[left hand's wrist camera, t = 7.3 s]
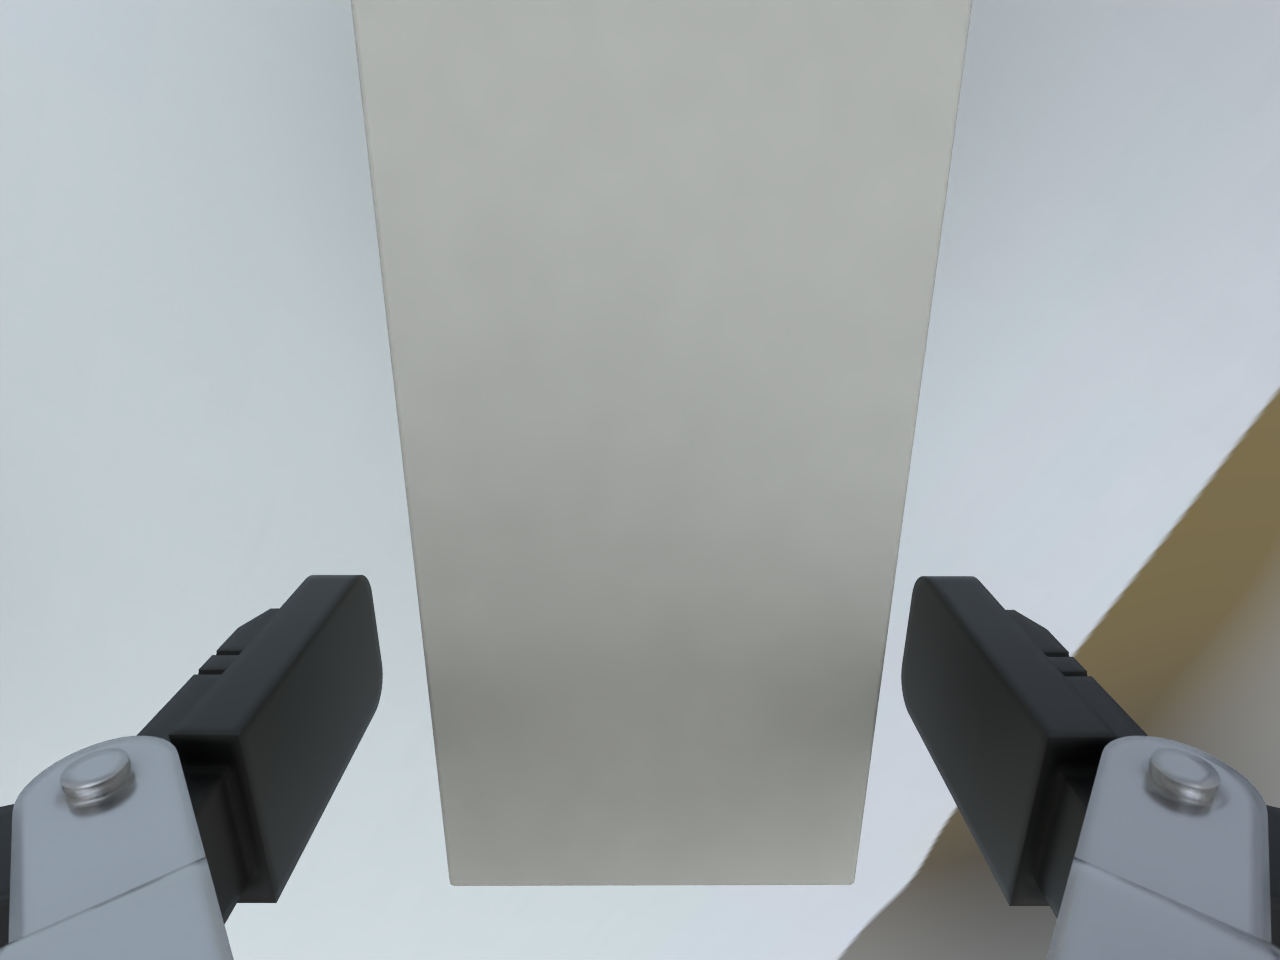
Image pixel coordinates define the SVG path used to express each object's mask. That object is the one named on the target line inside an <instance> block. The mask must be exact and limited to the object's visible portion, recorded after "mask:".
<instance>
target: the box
mask: <svg viewBox="0 0 1280 960" xmlns="http://www.w3.org/2000/svg"><path fill="white" fill-rule="evenodd" d="M971 5H972V0H351V6H352V15H353V23H354V32H355V41H356V50H357V59H358V68H359V77H360V86H361V95H362V104H363V113H364V121H365V130H366V139H367V148H368V157H369V166H370V175H371V184H372V193H373V202H374V210H375V219H376V228H377V237H378V246H379V255H380V264H381V273H382V282H383V291H384V299H385V308H386V317H387V326H388V335H389V344H390V353H391V362H392V371H393V380H394V389H395V397H396V406H397V415H398V424H399V433H400V442H401V451H402V460H403V469H404V478H405V486H406V495H407V504H408V513H409V522H410V531H411V540H412V549H413V558H414V567H415V575H416V584H417V593H418V602H419V611H420V620H421V629H422V638H423V647H424V656H425V665H426V673H427V682H428V691H429V700H430V709H431V718H432V727H433V736H434V745H435V754H436V762H437V771H438V780H439V789H440V798H441V807H442V816H443V825H444V834H445V843H446V851H447V860H448V869H449V878H450V883H451V885H453V886H541V885H851V884H853V883H854V879H855V872H856V864H857V857H858V850H859V842H860V835H861V827H862V820H863V812H864V805H865V797H866V790H867V782H868V775H869V767H870V760H871V752H872V745H873V737H874V730H875V723H876V715H877V708H878V700H879V693H880V685H881V678H882V670H883V663H884V655H885V648H886V640H887V633H888V625H889V618H890V610H891V603H892V595H893V588H894V581H895V573H896V566H897V558H898V551H899V543H900V536H901V528H902V521H903V513H904V506H905V498H906V491H907V483H908V476H909V468H910V461H911V454H912V446H913V439H914V431H915V424H916V416H917V409H918V401H919V394H920V386H921V379H922V371H923V364H924V356H925V349H926V341H927V334H928V327H929V319H930V312H931V304H932V297H933V289H934V282H935V274H936V267H937V259H938V252H939V244H940V237H941V229H942V222H943V214H944V207H945V200H946V192H947V185H948V177H949V170H950V162H951V155H952V147H953V140H954V132H955V125H956V117H957V110H958V102H959V95H960V87H961V80H962V73H963V65H964V58H965V50H966V43H967V35H968V28H969V20H970V13H971Z"/></svg>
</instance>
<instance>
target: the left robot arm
mask: <svg viewBox="0 0 1280 960" xmlns="http://www.w3.org/2000/svg"><path fill="white" fill-rule="evenodd" d="M382 677H383V673H382V662H381V654H380V647H379V640H378V633H377V626H376V619H375V612H374V604H373V597H372V591H371V587H370V583H369V581H368V579H367V578H366V577H365V576H363V575H311V576H309V577H308V578H307V579H305V581H304V582H303V583H302V584H301V585H300V586H299V587H298V589H297V590H296V591H295V592H294V593H293V594H292V595H291V596H290V598H289V599H288V600H287V601H286V602H285V603H284V604H283V605H282V607H281V608H280V609H269V610H268V611H266V612H264V613H263V614H261V615H259V616H257V617H256V618H254V619H252V620H251V621H249V622H247V623H246V624H244V625H242V626H241V627H239V628H238V629H237V630H236V631H235V632H234V633H233V634H232V635H231V636H230V637H229V638H228V639H227V640H226V641H225V642H224V643H223V644H222V646H221V647H220V648H219V649H218V650H217V654H216V655H212V656H211V657H210V658H209V659H208V660H207V661H206V663H205V664H204V665H203V666H202V667H201V668H200V669H199V673H198V675H193V676H192V677H191V678H190V680H189V681H188V682H187V683H186V684H185V685H184V686H183V687H182V688H181V689H180V690H179V691H178V692H177V693H176V694H175V695H174V697H173V698H172V699H171V700H170V701H169V702H168V703H167V704H166V705H165V706H164V707H163V708H162V709H161V710H160V711H159V712H158V714H157V715H156V716H155V717H154V718H153V719H152V720H151V721H150V722H149V723H148V724H147V725H146V726H145V727H144V728H143V729H142V731H141V732H140V733H139V734H138V735H137V736H130V737H122V738H117V739H112V740H108V741H105V742H101V743H98V744H95V745H92V746H89V747H87V748H84V749H81V750H79V751H77V752H75V753H73V754H71V755H69V756H67V757H65V758H63V759H61V760H60V761H58V762H56V763H54V764H53V765H51V766H50V767H48V768H47V769H45V770H44V771H43V772H41V773H40V774H39V775H38V776H36V777H35V778H34V779H33V780H32V781H31V782H30V783H29V784H28V785H27V786H26V787H25V788H24V789H23V791H22V792H21V793H20V795H19V796H18V798H17V800H16V802H15V804H12V805H7V806H3V807H0V960H234V959H233V956H232V952H231V948H230V944H229V941H228V937H227V933H226V930H225V926H224V924H225V922H226V921H227V919H228V917H229V916H230V914H231V912H232V910H233V909H234V907H235V905H236V903H277V901H278V899H279V897H280V895H281V893H282V891H283V889H284V887H285V885H286V883H287V881H288V879H289V878H290V876H291V874H292V872H293V870H294V868H295V866H296V864H297V862H298V860H299V858H300V856H301V854H302V852H303V851H304V849H305V847H306V845H307V843H308V841H309V839H310V837H311V835H312V833H313V831H314V829H315V827H316V825H317V824H318V822H319V820H320V818H321V816H322V814H323V812H324V810H325V808H326V806H327V804H328V802H329V800H330V798H331V796H332V795H333V793H334V791H335V789H336V787H337V785H338V783H339V781H340V779H341V777H342V775H343V773H344V771H345V769H346V768H347V766H348V764H349V762H350V760H351V758H352V756H353V754H354V752H355V750H356V748H357V746H358V744H359V742H360V741H361V739H362V737H363V735H364V733H365V731H366V729H367V727H368V725H369V723H370V721H371V719H372V717H373V715H374V713H375V711H376V709H377V707H378V704H379V700H380V695H381V689H382ZM901 680H902V691H903V697H904V701H905V705H906V708H907V711H908V713H909V715H910V717H911V719H912V721H913V723H914V724H915V726H916V728H917V730H918V732H919V734H920V736H921V738H922V740H923V742H924V743H925V745H926V747H927V749H928V751H929V753H930V755H931V757H932V759H933V761H934V763H935V764H936V766H937V768H938V770H939V772H940V774H941V776H942V778H943V780H944V782H945V784H946V785H947V787H948V789H949V791H950V793H951V795H952V797H953V799H954V801H955V803H956V805H957V806H958V808H959V810H960V812H961V814H962V816H963V818H964V820H965V822H966V824H967V825H968V827H969V829H970V831H971V833H972V835H973V837H974V839H975V841H976V843H977V845H978V846H979V848H980V850H981V852H982V854H983V856H984V858H985V860H986V862H987V864H988V866H989V867H990V869H991V871H992V873H993V875H994V877H995V879H996V881H997V883H998V885H999V887H1000V888H1001V890H1002V892H1003V894H1004V896H1005V898H1006V900H1007V902H1008V904H1009V905H1010V906H1050V907H1051V909H1052V911H1053V912H1054V914H1055V916H1056V918H1057V922H1056V926H1055V930H1054V933H1053V937H1052V941H1051V944H1050V948H1049V952H1048V956H1047V959H1046V960H1280V808H1276V807H1272V806H1268V805H1266V804H1265V802H1264V800H1263V798H1262V796H1261V795H1260V793H1259V792H1258V791H1257V789H1256V788H1255V787H1254V786H1253V785H1252V784H1251V783H1250V782H1249V781H1248V780H1247V779H1246V778H1245V777H1244V776H1242V775H1241V774H1240V773H1239V772H1237V771H1236V770H1235V769H1233V768H1232V767H1230V766H1229V765H1227V764H1226V763H1224V762H1222V761H1220V760H1219V759H1217V758H1215V757H1213V756H1211V755H1209V754H1207V753H1205V752H1203V751H1201V750H1199V749H1196V748H1193V747H1191V746H1188V745H1185V744H1182V743H1179V742H1175V741H1172V740H1168V739H1163V738H1158V737H1150V736H1148V735H1147V734H1146V733H1145V732H1144V731H1143V730H1142V729H1141V728H1140V727H1139V726H1138V725H1137V724H1136V723H1135V722H1134V721H1133V719H1132V718H1131V717H1130V716H1129V715H1128V714H1127V713H1126V712H1125V711H1124V710H1123V709H1122V708H1121V707H1120V706H1119V705H1118V704H1117V703H1116V702H1115V701H1114V699H1113V698H1112V697H1111V696H1110V695H1109V694H1108V693H1107V692H1106V691H1105V690H1104V689H1103V688H1102V687H1101V686H1100V685H1099V684H1098V683H1097V682H1096V681H1095V679H1094V678H1093V677H1091V676H1087V671H1086V670H1085V669H1084V668H1083V667H1082V666H1081V665H1080V664H1079V663H1078V662H1077V661H1076V659H1075V658H1074V657H1069V652H1068V651H1067V650H1066V649H1065V648H1064V647H1063V646H1062V645H1061V644H1060V643H1059V642H1058V640H1057V639H1056V638H1055V637H1054V636H1053V635H1052V634H1051V633H1050V632H1049V631H1048V630H1047V629H1045V628H1044V627H1042V626H1040V625H1039V624H1037V623H1035V622H1034V621H1032V620H1030V619H1028V618H1027V617H1025V616H1023V615H1022V614H1020V613H1018V612H1017V611H1015V610H1005V609H1004V608H1003V607H1002V606H1001V605H1000V604H999V602H998V601H997V600H996V599H995V598H994V597H993V596H992V595H991V593H990V592H989V591H988V590H987V589H986V588H985V587H984V586H983V584H982V583H981V582H980V581H979V580H978V579H977V578H975V577H972V576H922V577H919V578H918V579H917V581H916V583H915V585H914V588H913V593H912V599H911V606H910V613H909V620H908V627H907V635H906V642H905V649H904V656H903V663H902V673H901Z"/></svg>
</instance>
